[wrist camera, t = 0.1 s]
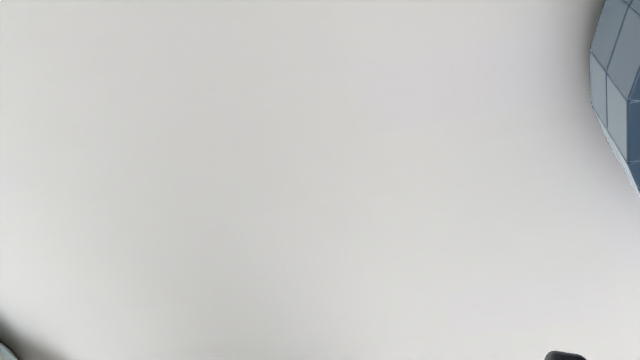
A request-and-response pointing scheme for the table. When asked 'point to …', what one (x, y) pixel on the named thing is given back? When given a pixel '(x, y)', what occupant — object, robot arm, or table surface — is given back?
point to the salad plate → (6, 353)
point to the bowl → (618, 82)
